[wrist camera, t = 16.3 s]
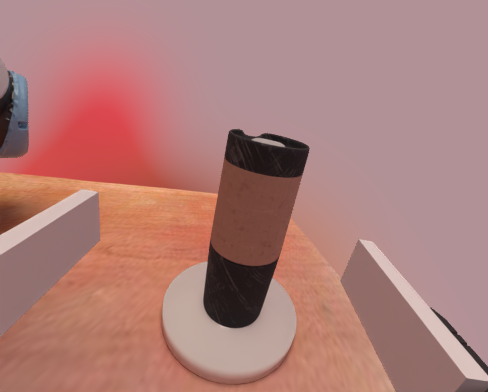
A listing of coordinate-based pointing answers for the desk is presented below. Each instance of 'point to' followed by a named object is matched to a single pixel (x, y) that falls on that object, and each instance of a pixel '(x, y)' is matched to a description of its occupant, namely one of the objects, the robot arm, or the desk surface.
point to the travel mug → (250, 223)
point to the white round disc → (225, 332)
